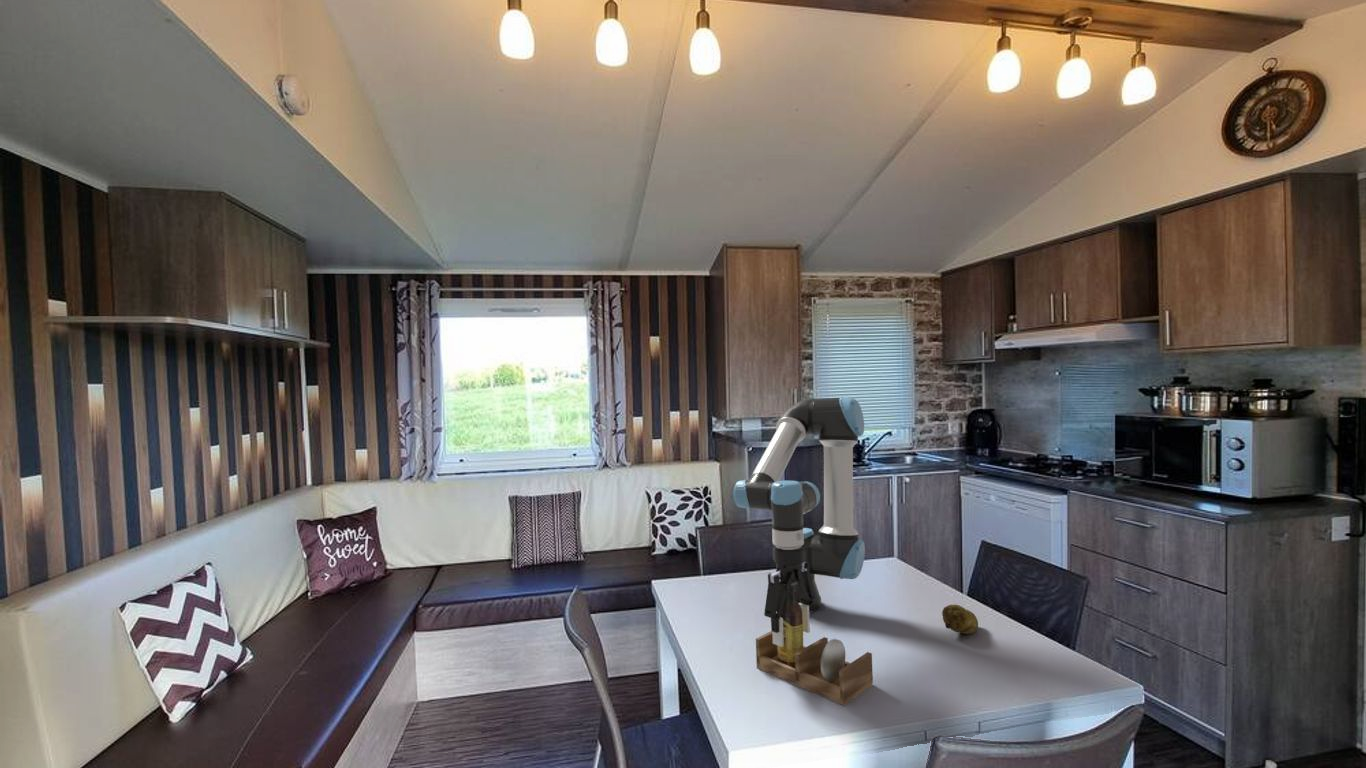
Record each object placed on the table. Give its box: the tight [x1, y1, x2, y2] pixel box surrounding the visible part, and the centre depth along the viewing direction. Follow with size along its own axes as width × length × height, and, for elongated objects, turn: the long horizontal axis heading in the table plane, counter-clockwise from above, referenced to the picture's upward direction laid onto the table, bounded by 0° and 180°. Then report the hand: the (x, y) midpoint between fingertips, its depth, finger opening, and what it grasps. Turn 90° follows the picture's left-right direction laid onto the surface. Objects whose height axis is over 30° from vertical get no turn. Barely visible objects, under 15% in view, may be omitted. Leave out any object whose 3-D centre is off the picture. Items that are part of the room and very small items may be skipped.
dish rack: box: [755, 630, 874, 706], centre depth 132 cm, size 24×12×10 cm, turn 43°
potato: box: [941, 604, 979, 635], centre depth 153 cm, size 8×13×8 cm, turn 113°
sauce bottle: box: [777, 581, 804, 668], centre depth 137 cm, size 6×6×20 cm
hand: (791, 637), depth 137 cm, fingers open, 10 cm apart
